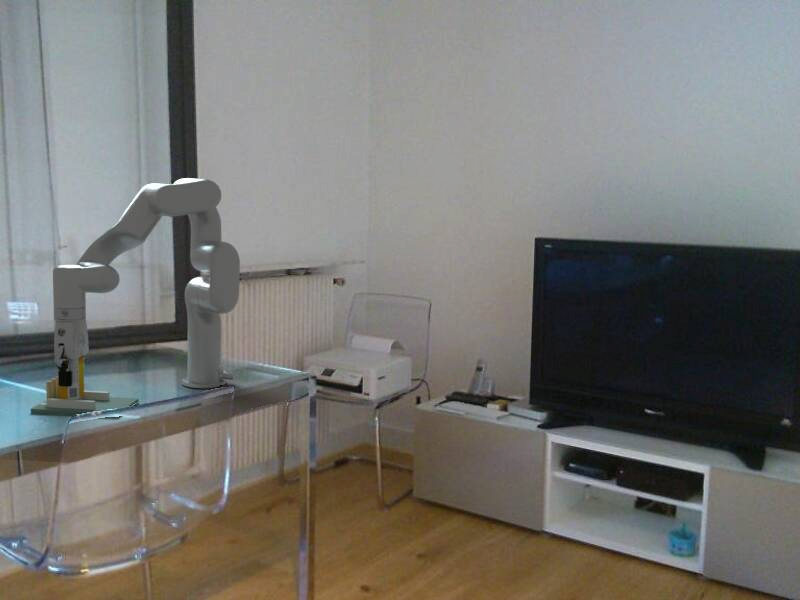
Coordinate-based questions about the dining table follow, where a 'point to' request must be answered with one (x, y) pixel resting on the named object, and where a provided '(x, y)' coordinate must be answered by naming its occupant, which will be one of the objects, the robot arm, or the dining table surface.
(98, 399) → the board
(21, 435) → the dining table surface
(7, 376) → the dining table surface
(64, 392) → the beer can
